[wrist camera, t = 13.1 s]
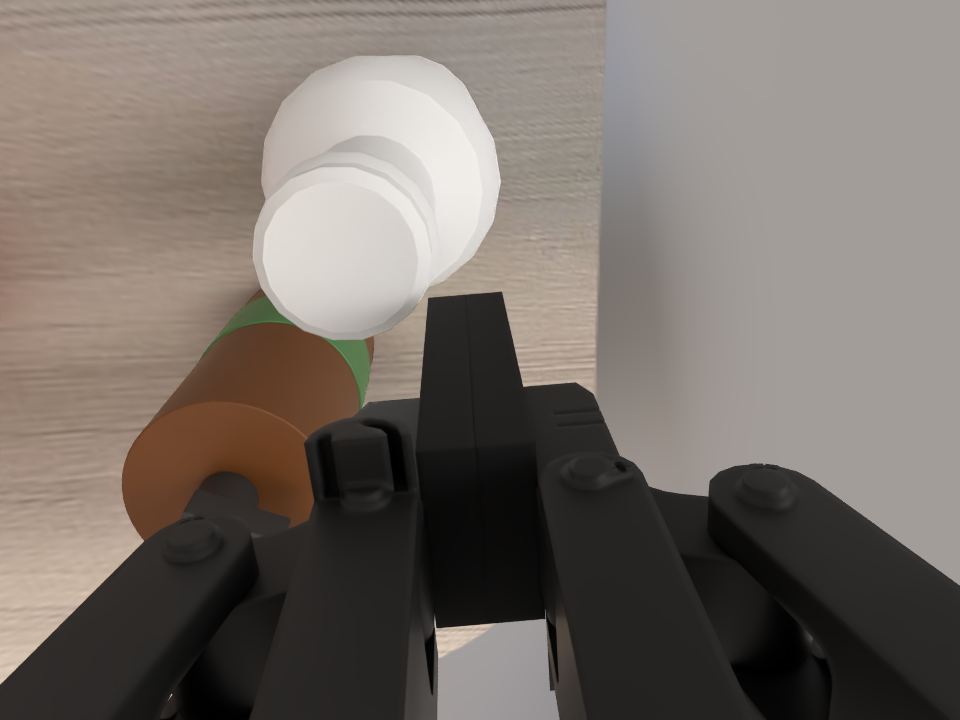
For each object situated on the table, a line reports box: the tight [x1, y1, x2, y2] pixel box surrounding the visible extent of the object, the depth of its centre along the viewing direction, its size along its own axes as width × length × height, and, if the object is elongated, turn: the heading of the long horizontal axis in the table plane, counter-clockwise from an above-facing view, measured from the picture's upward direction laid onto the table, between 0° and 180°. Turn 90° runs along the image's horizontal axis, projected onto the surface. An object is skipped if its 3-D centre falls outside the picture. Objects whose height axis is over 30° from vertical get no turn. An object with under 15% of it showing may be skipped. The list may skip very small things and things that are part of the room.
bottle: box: [252, 55, 501, 340], centre depth 29 cm, size 8×8×30 cm
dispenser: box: [122, 289, 374, 541], centre depth 37 cm, size 10×9×22 cm
